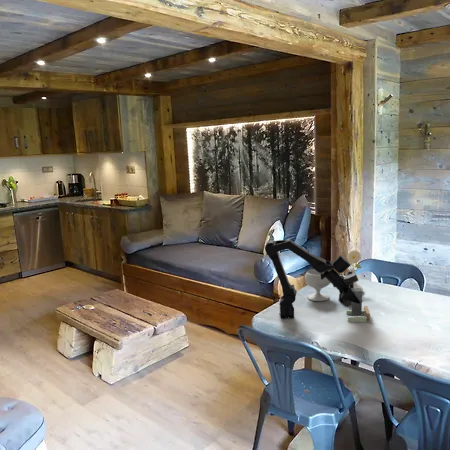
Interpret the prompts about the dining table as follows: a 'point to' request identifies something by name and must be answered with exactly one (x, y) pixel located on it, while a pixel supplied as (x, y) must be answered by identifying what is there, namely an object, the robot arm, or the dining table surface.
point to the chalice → (316, 285)
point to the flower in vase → (354, 258)
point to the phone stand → (347, 303)
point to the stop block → (355, 307)
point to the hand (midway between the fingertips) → (359, 301)
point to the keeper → (360, 319)
